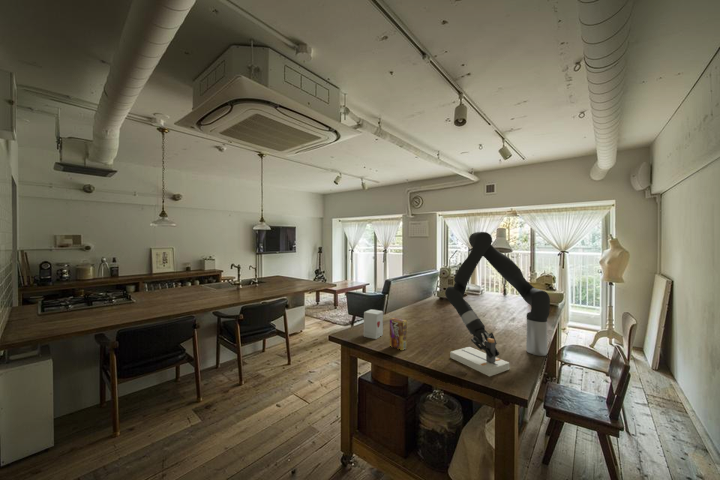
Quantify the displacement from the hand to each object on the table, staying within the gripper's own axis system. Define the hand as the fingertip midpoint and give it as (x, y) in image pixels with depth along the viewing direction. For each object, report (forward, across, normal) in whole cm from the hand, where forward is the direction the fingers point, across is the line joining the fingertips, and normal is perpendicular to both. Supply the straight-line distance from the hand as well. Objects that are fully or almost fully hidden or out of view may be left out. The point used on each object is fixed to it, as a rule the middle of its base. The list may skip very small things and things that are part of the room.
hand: (494, 356), depth 127 cm
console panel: (-1, 0, +11) cm, 11 cm away
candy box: (-25, -22, +35) cm, 48 cm away
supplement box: (-41, -24, +50) cm, 69 cm away
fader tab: (+1, 0, +4) cm, 4 cm away
